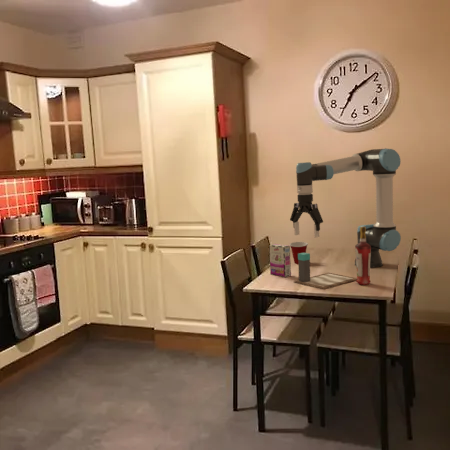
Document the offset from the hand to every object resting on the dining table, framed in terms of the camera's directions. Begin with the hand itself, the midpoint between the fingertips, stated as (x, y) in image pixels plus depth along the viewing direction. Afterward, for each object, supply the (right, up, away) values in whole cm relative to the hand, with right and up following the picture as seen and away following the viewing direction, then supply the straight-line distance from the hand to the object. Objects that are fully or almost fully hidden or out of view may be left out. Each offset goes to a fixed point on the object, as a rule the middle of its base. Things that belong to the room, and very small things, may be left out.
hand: (306, 236), depth 257 cm
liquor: (+26, -23, -8) cm, 36 cm away
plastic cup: (+3, -17, +47) cm, 50 cm away
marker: (-1, -23, +1) cm, 23 cm away
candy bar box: (-11, -22, +19) cm, 31 cm away
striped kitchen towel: (+10, -23, +1) cm, 25 cm away
